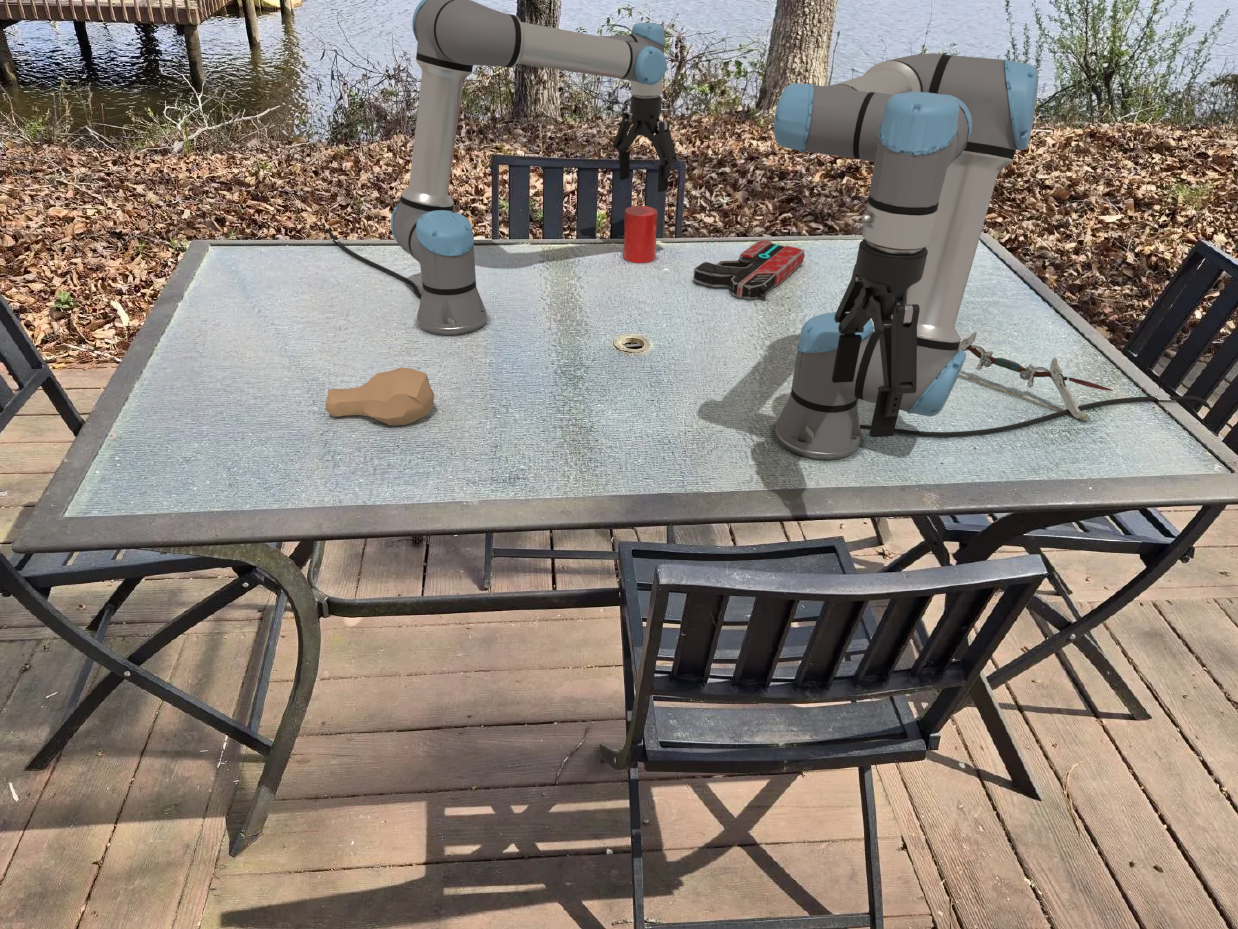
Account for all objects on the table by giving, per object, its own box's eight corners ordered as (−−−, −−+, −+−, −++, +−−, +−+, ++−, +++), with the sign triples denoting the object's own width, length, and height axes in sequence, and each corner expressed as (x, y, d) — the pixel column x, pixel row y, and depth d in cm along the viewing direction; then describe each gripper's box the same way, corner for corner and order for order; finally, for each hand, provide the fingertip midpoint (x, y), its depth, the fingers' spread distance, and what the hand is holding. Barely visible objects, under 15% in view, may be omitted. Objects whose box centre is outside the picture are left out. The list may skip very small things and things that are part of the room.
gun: (689, 269, 215) (762, 288, 207) (741, 232, 237) (809, 248, 229) (687, 286, 217) (759, 305, 209) (739, 248, 239) (806, 264, 231)
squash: (434, 432, 158) (421, 393, 152) (327, 440, 160) (310, 402, 153) (443, 394, 166) (431, 355, 160) (341, 402, 167) (325, 364, 161)
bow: (1101, 423, 166) (1119, 376, 160) (1098, 427, 165) (1116, 380, 159) (913, 357, 187) (924, 314, 182) (909, 360, 186) (919, 316, 181)
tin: (658, 261, 231) (661, 215, 224) (628, 263, 229) (629, 216, 222) (650, 250, 238) (652, 204, 231) (620, 252, 236) (621, 206, 229)
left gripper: (695, 101, 205) (689, 193, 216) (621, 85, 219) (619, 171, 231) (673, 106, 200) (668, 199, 212) (599, 88, 215) (598, 176, 227)
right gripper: (826, 208, 108) (801, 362, 120) (907, 286, 88) (868, 462, 100) (883, 207, 109) (854, 360, 121) (977, 284, 89) (931, 459, 101)
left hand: (643, 184), depth 222 cm, fingers open, 13 cm apart
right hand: (860, 406), depth 110 cm, fingers open, 13 cm apart
